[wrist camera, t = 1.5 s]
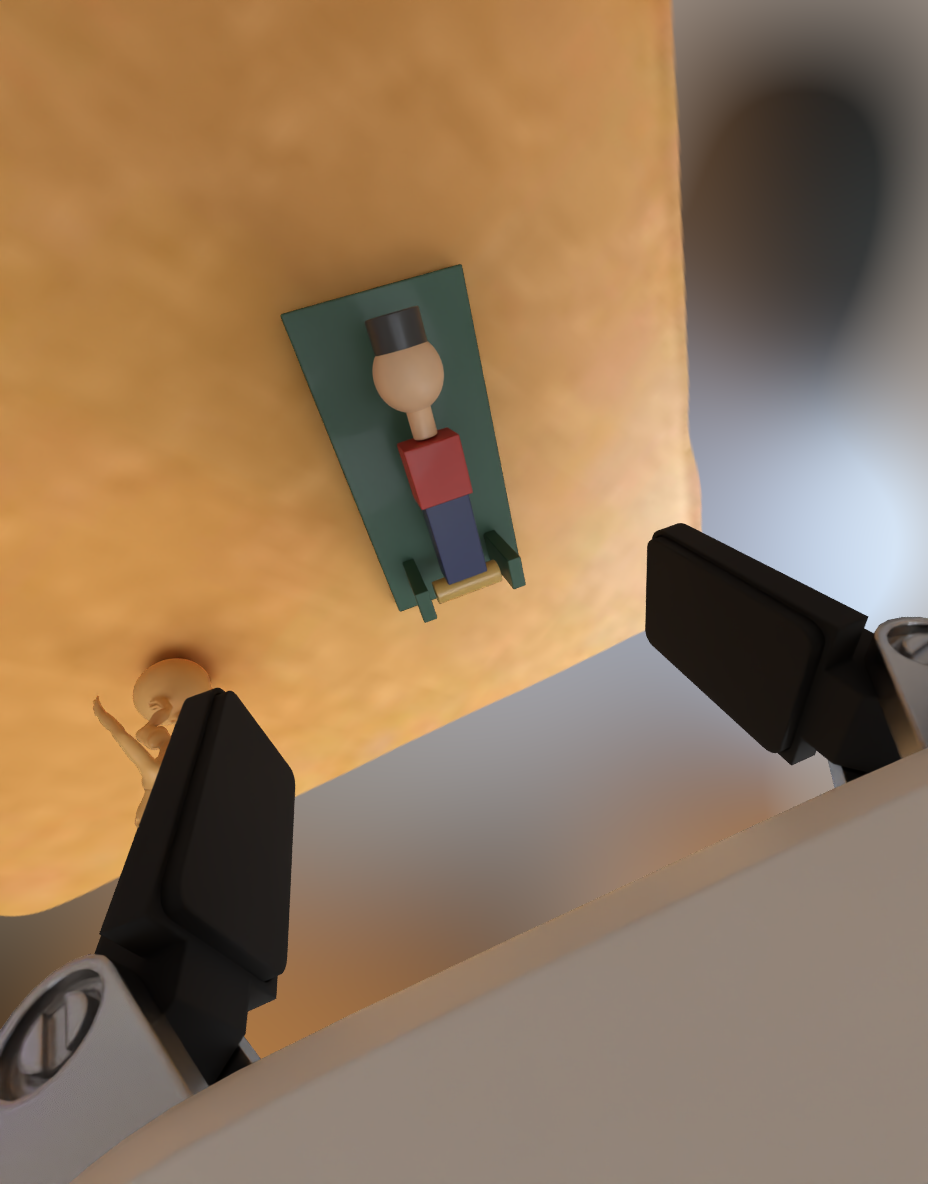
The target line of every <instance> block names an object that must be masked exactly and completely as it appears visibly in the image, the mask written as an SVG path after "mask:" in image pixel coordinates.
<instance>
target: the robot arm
mask: <svg viewBox="0 0 928 1184" xmlns="http://www.w3.org/2000/svg"><path fill="white" fill-rule="evenodd" d="M867 619H868V616H866V615H864V614H862V613H860V612H858V611H856V610H854V609H852V608H850V607H848V606H846V605H844V604H842V603H840V602H838V601H836V600H834V599H832V598H830V597H828V596H826V595H824V594H822V593H820V592H818V591H816V590H814V589H813V588H811V587H808V586H807V585H804V584H803V583H801V582H799V581H797V580H795V579H793V578H791V577H789V576H787V575H785V574H783V573H781V572H779V571H777V570H775V569H773V568H771V567H769V566H767V565H765V564H763V563H761V562H759V561H757V560H755V559H753V558H751V557H749V556H747V555H745V554H743V553H741V552H739V551H737V550H735V549H734V548H732V547H730V546H727V545H726V544H724V543H721V542H720V541H718V540H716V539H714V538H712V537H710V536H708V535H706V534H704V533H702V532H700V531H698V530H696V529H694V528H692V527H690V526H688V525H686V524H683V523H678V524H675V525H672V526H669V527H667V528H664V529H661V530H658V531H656V532H655V533H654V535H653V537H652V540H650V541H649V543H648V546H647V581H646V623H645V632H646V636H647V638H648V640H649V642H650V643H651V644H652V646H654V647H655V648H656V649H657V650H658V651H659V652H660V653H661V654H662V655H663V656H664V657H665V658H667V659H668V660H669V661H670V662H671V663H672V664H673V665H674V666H675V667H676V668H678V670H680V671H681V672H682V673H683V674H684V675H685V676H686V677H687V678H688V679H689V680H691V681H692V682H693V683H694V684H695V685H696V686H697V687H698V688H699V689H700V690H701V691H703V692H704V693H705V694H706V695H707V696H708V697H709V698H710V699H711V700H712V701H713V702H714V703H716V704H717V705H718V706H719V707H720V708H721V709H722V710H723V711H724V712H725V713H726V714H728V715H729V716H730V717H731V718H732V719H733V720H734V721H735V722H736V723H737V724H739V725H740V726H741V727H742V728H743V729H744V730H745V731H746V732H747V733H748V734H749V735H750V736H752V737H753V738H754V739H755V740H756V741H757V742H758V743H759V744H760V745H761V746H762V747H764V748H765V749H766V750H768V751H770V752H772V753H778V754H779V755H781V756H782V757H783V758H784V759H785V760H786V761H787V762H788V763H789V764H790V765H794V764H796V763H798V762H800V761H802V760H805V759H807V758H809V757H811V756H813V755H815V753H816V750H817V751H818V752H819V753H820V754H822V755H823V756H824V757H825V758H827V759H828V763H829V767H830V771H831V775H832V779H833V783H834V787H835V788H834V789H832V790H830V791H828V792H826V793H823V794H821V795H819V796H817V797H815V798H813V799H810V800H808V801H806V802H804V803H802V804H800V805H797V806H795V807H793V808H791V809H789V810H787V811H784V812H782V813H780V814H778V815H776V816H774V817H771V818H769V819H767V820H765V821H763V822H761V823H758V824H756V825H754V826H752V827H750V828H747V829H745V830H743V831H741V832H739V833H737V834H734V835H732V836H730V837H728V838H726V839H724V840H721V841H719V842H717V843H715V844H713V845H711V846H709V847H706V848H704V849H702V850H700V851H698V852H695V853H694V854H691V855H689V856H687V857H685V858H683V859H680V860H678V861H676V862H674V863H672V864H670V865H668V866H666V867H664V868H661V869H659V870H657V871H655V872H653V873H651V874H648V875H646V876H644V877H642V878H640V879H638V880H635V881H634V882H631V883H629V884H627V885H625V886H623V887H620V888H618V889H616V890H614V891H612V892H610V893H608V894H606V895H603V896H601V897H599V898H597V899H595V900H593V901H590V902H588V903H586V904H584V905H582V906H580V907H578V908H576V909H573V910H571V911H569V912H567V913H565V914H563V915H561V916H558V917H557V918H554V919H552V920H550V921H548V922H546V923H543V924H541V925H539V926H537V927H535V928H533V929H531V930H529V931H526V932H524V933H522V934H520V935H518V936H516V937H514V938H512V939H509V940H508V941H505V942H503V943H501V944H499V945H497V946H495V947H493V948H491V949H488V950H486V951H484V952H482V953H480V954H478V955H476V956H473V957H471V958H469V959H467V960H465V961H463V962H461V963H459V964H457V965H454V966H452V967H450V968H448V969H446V970H444V971H442V972H440V973H438V974H435V975H433V976H431V977H429V978H427V979H425V980H423V981H421V982H419V983H417V984H414V985H412V986H410V987H408V988H406V989H404V990H402V991H400V992H398V993H396V994H393V995H391V996H389V997H387V998H385V999H383V1000H381V1001H378V1002H376V1003H374V1004H372V1005H370V1006H368V1007H366V1008H364V1009H361V1010H359V1011H357V1012H355V1013H353V1014H351V1015H349V1016H347V1017H345V1018H343V1019H341V1020H339V1021H337V1022H335V1023H333V1024H331V1025H329V1026H327V1027H325V1028H323V1029H321V1030H319V1031H317V1032H315V1033H313V1034H311V1035H309V1036H307V1037H305V1038H303V1039H301V1040H299V1041H297V1042H295V1043H293V1044H291V1045H289V1046H286V1047H285V1048H283V1049H280V1050H278V1051H276V1052H274V1053H272V1054H270V1055H269V1056H266V1057H264V1058H262V1059H260V1057H259V1056H258V1055H257V1053H256V1052H255V1050H254V1049H253V1048H252V1047H251V1045H250V1044H249V1042H248V1041H247V1040H246V1039H245V1037H244V1035H245V1033H246V1023H247V1014H248V1011H250V1010H252V1009H255V1008H257V1007H259V1006H261V1005H263V1004H266V1003H268V1002H270V1001H272V1000H274V999H276V993H277V976H278V975H280V974H282V973H283V972H284V970H285V967H286V963H287V950H288V949H287V948H288V928H289V907H290V905H289V904H290V886H291V865H292V843H293V821H294V800H295V779H294V775H293V772H292V770H291V768H290V767H289V765H288V764H287V763H286V761H285V760H284V759H283V757H282V756H281V754H280V753H279V752H278V750H277V749H276V748H275V746H274V745H273V744H272V742H271V741H270V740H269V738H268V737H267V736H266V734H265V733H264V731H263V730H262V729H261V727H260V726H259V725H258V723H257V722H256V721H255V719H254V718H253V717H252V715H251V714H250V713H249V711H248V710H247V709H246V707H245V706H244V704H243V703H242V702H241V700H240V699H239V698H238V696H237V695H236V694H235V693H234V692H232V691H227V692H225V691H224V690H222V689H221V688H214V689H211V690H208V691H206V692H203V693H200V694H197V695H194V696H192V697H189V698H187V699H186V700H185V701H184V703H183V705H182V708H181V711H180V713H179V716H178V719H177V722H176V724H175V727H174V730H173V733H172V735H171V738H170V741H169V744H168V746H167V749H166V752H165V755H164V757H163V760H162V763H161V766H160V768H159V771H158V774H157V777H156V779H155V782H154V785H153V788H152V790H151V793H150V796H149V799H148V801H147V804H146V807H145V810H144V812H143V815H142V818H141V821H140V823H139V826H138V829H137V832H136V834H135V837H134V840H133V843H132V845H131V848H130V851H129V854H128V856H127V859H126V862H125V865H124V867H123V870H122V873H121V876H120V878H119V881H118V884H117V887H116V889H115V892H114V895H113V898H112V901H111V903H110V906H109V909H108V912H107V914H106V917H105V920H104V922H103V925H102V928H101V931H100V933H99V934H100V935H101V937H100V940H99V943H98V946H97V948H96V951H95V954H89V955H86V956H83V957H80V958H77V959H74V960H72V961H70V962H69V963H67V964H65V965H64V966H62V967H60V968H59V969H57V970H55V971H54V972H53V973H52V974H51V975H49V976H48V977H47V978H46V979H45V980H43V981H42V982H41V983H40V984H39V985H38V986H36V987H35V988H34V989H33V990H32V991H31V992H30V994H29V995H28V996H27V997H26V998H25V999H24V1000H23V1001H22V1002H21V1004H20V1005H19V1006H18V1007H17V1008H16V1009H15V1010H14V1012H13V1013H12V1014H11V1016H10V1017H9V1019H8V1020H7V1022H6V1023H5V1025H4V1026H3V1027H2V1029H1V1030H0V1184H928V618H922V617H901V618H896V619H891V620H887V621H886V622H884V623H882V624H880V625H879V626H878V628H877V629H876V631H875V633H872V632H870V631H868V630H866V629H864V627H865V624H866V621H867Z"/></svg>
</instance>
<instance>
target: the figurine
mask: <svg viewBox="0 0 928 1184" xmlns="http://www.w3.org/2000/svg"><path fill="white" fill-rule="evenodd" d="M208 690H211V681H210V678H209V675H208V674H207V672H206V671H205V670H204V668H202V667H201V666H200V665H199V664H197V663H195V662H193V661H191V660H187V659H181V658H172V659H166V660H163V661H160V662H157V663H155V664H153V665H152V666H150V667H149V668H147V669H146V670H145V671H144V672H143V673H142V674H141V675H140V677H139V678H138V680H137V682H136V684H135V686H134V690H133V701H134V705H135V707H136V709H137V711H138V712H139V713H140V714H141V715H142V716H143V717H144V718H145V719H147V720H148V721H149V722H148V723H147V724H146V725H145V726H144V727H143V728H141V729H140V730H138V731H137V733H136V739H137V740H138V741H139V742H141V743H143V744H144V745H145V746H146V747H147V748H149V749H152V750H157V749H160V752H159V755H158V757H157V758H156V759H154V758H153V757H152V756H151V755H150V754H149V753H148V752H147V751H146V750H145V748H144V747H143V746H142V745H141V744H140V743H139V742H138V741H136V740H135V739H134V738H133V737H132V736H131V735H129V734H128V733H127V732H126V731H125V729H124V728H123V726H122V725H121V724H120V723H119V722H118V721H117V720H116V719H115V718H114V717H113V716H111V715H110V714H109V713H107V712H106V711H105V710H104V709H103V707H102V706H101V703H100V701H99V696H97V698H96V700H94V701H93V704H94V706H93V710H94V713H95V716H97V717H98V719H99V721H100V722H101V724H102V725H103V726H104V727H105V728H106V729H107V730H109V731H110V732H111V734H112V736H113V737H114V739H115V740H116V741H117V742H118V743H119V745H120V747H121V748H122V749H123V751H124V752H125V754H126V755H127V756H128V757H129V759H130V760H131V761H132V762H133V763H134V764H135V765H136V766H137V768H138V770H139V771H140V773H141V775H142V786H143V788H144V790H145V794H144V797H143V799H142V801H141V803H140V805H139V807H138V809H137V812H136V818H135V825H136V827H137V828H138V826H139V823H140V821H141V818H142V815H143V812H144V810H145V807H146V804H147V801H148V799H149V796H150V793H151V790H152V788H153V785H154V782H155V779H156V777H157V774H158V771H159V768H160V766H161V763H162V760H163V757H164V755H165V752H166V749H167V746H168V744H169V741H170V738H171V736H170V734H169V733H168V731H167V729H166V728H165V727H163V726H158V725H174V724H176V722H177V719H178V716H179V713H180V711H181V708H182V705H183V703H184V701H185V700H186V699H187V698H189V697H192V696H194V695H197V694H200V693H203V692H206V691H208ZM157 726H158V727H157Z"/></svg>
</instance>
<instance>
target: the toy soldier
mask: <svg viewBox="0 0 928 1184" xmlns="http://www.w3.org/2000/svg"><path fill="white" fill-rule="evenodd" d="M365 326H366V329H367V333H368V336H369V339H370V342H371V345H372V349H373V352H374V355H375V358H374V362H373V368H372V373H373V381H374V384H375V387H376V390H377V391H378V393H379V395H380V396H381V398H382V399H383V400H384V401H385V402H386V403H387V404H388V405H389V406H391V407H392V408H394V409H396V410H398V411H401V412H405V413H406V414H407V418H408V421H409V424H410V428H411V431H412V434H413V438H412V439H409V440H406V441H403V442H400V443H397V447H398V450H399V453H400V457H401V460H402V463H403V466H404V469H405V472H406V475H407V478H408V481H409V485H410V488H411V491H412V494H413V497H414V499H415V500H416V502H417V503H418V505H419V507H420V508H421V510H422V512H423V515H424V518H425V522H426V525H427V528H428V531H429V534H430V537H431V541H432V544H433V547H434V550H435V553H436V556H437V559H438V563H439V566H440V569H441V572H442V574H443V576H444V578H441V579H438V580H436V581H433V582H432V587H433V590H434V592H435V595H436V598H437V600H438V602H439V604H442V603H444V602H447V601H450V600H452V599H455V598H458V597H460V596H463V595H466V594H468V593H471V592H474V591H476V590H479V589H482V588H484V587H487V586H490V585H492V584H495V583H498V582H501V581H502V575H501V571H500V568H499V566H498V564H497V562H496V561H495V560H490V561H487V562H485V558H484V554H483V550H482V546H481V542H480V538H479V534H478V530H477V526H476V522H475V518H474V514H473V510H472V506H471V502H470V498H469V494H471V493H473V490H472V486H471V482H470V478H469V473H468V469H467V465H466V461H465V457H464V453H463V449H462V444H461V440H460V436H459V434H457V433H456V432H454V431H453V430H451V429H450V428H448V427H446V428H443V429H440V430H437V428H436V424H435V421H434V417H433V413H432V409H431V406H430V405H432V404H433V403H434V402H435V400H436V399H437V398H438V396H439V394H440V392H441V390H442V386H443V381H444V370H443V365H442V361H441V359H440V356H439V354H438V353H437V351H436V350H435V348H434V347H433V346H432V345H431V344H430V343H429V342H428V341H427V337H426V333H425V329H424V325H423V321H422V317H421V313H420V309H419V307H418V306H414V307H410V308H406V309H402V310H399V311H395V312H392V313H389V314H385V315H382V316H379V317H375V318H372V319H369V320H366V321H365Z"/></svg>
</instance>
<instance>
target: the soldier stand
mask: <svg viewBox="0 0 928 1184" xmlns="http://www.w3.org/2000/svg"><path fill="white" fill-rule="evenodd" d="M414 306H418V307H419V309H420V313H421V317H422V321H423V325H424V329H425V333H426V337H427V341H428V342H429V343H430V344H431V345H432V346H433V347H434V348H435V350H436V351H437V353H438V354H439V356H440V359H441V361H442V365H443V370H444V381H443V386H442V390H441V392H440V394H439V396H438V398H437V399H436V400H435V402H434V403H433V404H432V405H430V406H431V409H432V413H433V417H434V421H435V424H436V428H437V430H440V429H443V428H446V427H448V428H450V429H451V430H453V431H454V432H456V433H457V434H459V436H460V440H461V444H462V449H463V453H464V457H465V461H466V465H467V469H468V473H469V478H470V482H471V486H472V490H473V493H471V494H469V498H470V502H471V506H472V510H473V514H474V518H475V522H476V526H477V530H478V534H479V538H480V542H481V546H482V550H483V554H484V558H485V562H487V561H490V560H495V561H496V562H497V564H498V566H499V568H500V571H501V574H502V575H503V576H504V578H505V579H506V580H507V581H508V583H509V584H510V585H511V586H512V588H513V589H516V588H519V587H522V586H524V585H526V584H525V579H524V573H523V568H522V563H521V558H520V556H519V555H518V550H517V544H516V539H515V534H514V529H513V524H512V519H511V514H510V509H509V504H508V498H507V493H506V488H505V483H504V478H503V473H502V468H501V463H500V458H499V452H498V447H497V442H496V437H495V432H494V427H493V422H492V417H491V412H490V406H489V401H488V396H487V391H486V386H485V381H484V376H483V371H482V366H481V360H480V355H479V350H478V345H477V340H476V335H475V330H474V325H473V320H472V314H471V309H470V304H469V299H468V294H467V289H466V284H465V279H464V274H463V268H462V265H461V264H458V265H455V266H451V267H448V268H444V269H441V270H437V271H433V272H430V273H426V274H423V275H419V276H416V277H412V278H408V279H405V280H401V281H398V282H394V283H391V284H387V285H383V286H380V287H376V288H373V289H369V290H366V291H362V292H358V293H355V294H351V295H348V296H344V297H341V298H337V299H333V300H330V301H326V302H323V303H319V304H316V305H312V306H308V307H305V308H301V309H298V310H294V311H291V312H287V313H283V314H281V319H282V321H283V324H284V326H285V329H286V331H287V334H288V336H289V339H290V341H291V344H292V346H293V349H294V351H295V354H296V356H297V359H298V361H299V363H300V366H301V368H302V371H303V373H304V376H305V378H306V381H307V383H308V386H309V388H310V391H311V393H312V396H313V398H314V401H315V403H316V406H317V408H318V411H319V413H320V416H321V418H322V421H323V423H324V425H325V428H326V430H327V433H328V435H329V438H330V440H331V443H332V445H333V448H334V450H335V453H336V455H337V458H338V460H339V463H340V465H341V468H342V470H343V473H344V475H345V478H346V480H347V483H348V485H349V487H350V490H351V492H352V495H353V497H354V500H355V502H356V505H357V507H358V510H359V512H360V515H361V517H362V520H363V522H364V525H365V527H366V530H367V532H368V535H369V537H370V540H371V542H372V545H373V547H374V549H375V552H376V554H377V557H378V559H379V562H380V564H381V567H382V569H383V572H384V574H385V577H386V579H387V582H388V584H389V587H390V589H391V592H392V594H393V597H394V599H395V602H396V604H397V607H398V609H399V611H400V612H401V611H404V610H406V609H409V608H412V607H414V606H417V605H418V607H419V609H420V612H421V615H422V617H423V620H424V622H425V623H426V622H429V621H431V620H434V619H437V615H436V612H435V609H434V606H433V603H432V601H431V600H433V599H436V595H435V592H434V590H433V587H432V582H433V581H436V580H438V579H441V578H444V576H443V574H442V572H441V569H440V566H439V563H438V559H437V556H436V553H435V550H434V547H433V544H432V541H431V537H430V534H429V531H428V528H427V525H426V522H425V518H424V515H423V512H422V510H421V508H420V507H419V505H418V503H417V502H416V500H415V499H414V497H413V494H412V491H411V488H410V485H409V481H408V478H407V475H406V472H405V469H404V466H403V463H402V460H401V457H400V453H399V450H398V447H397V443H400V442H403V441H406V440H409V439H412V438H413V434H412V431H411V428H410V424H409V421H408V418H407V414H406V413H405V412H401V411H398V410H396V409H394V408H392V407H391V406H389V405H388V404H387V403H386V402H385V401H384V400H383V399H382V398H381V396H380V395H379V393H378V391H377V390H376V387H375V384H374V381H373V373H372V368H373V362H374V358H375V355H374V352H373V349H372V345H371V342H370V339H369V336H368V333H367V329H366V326H365V321H366V320H369V319H372V318H375V317H379V316H382V315H385V314H389V313H392V312H395V311H399V310H402V309H406V308H410V307H414Z"/></svg>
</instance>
